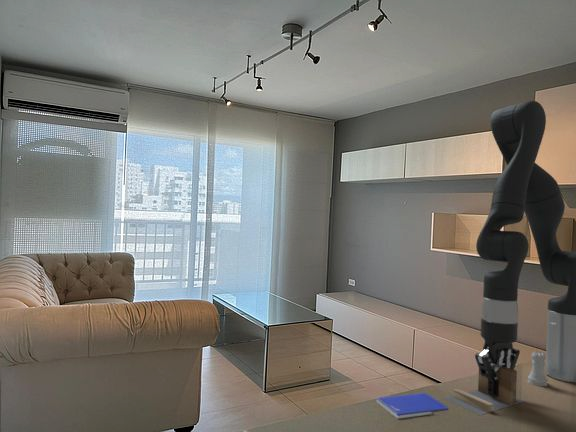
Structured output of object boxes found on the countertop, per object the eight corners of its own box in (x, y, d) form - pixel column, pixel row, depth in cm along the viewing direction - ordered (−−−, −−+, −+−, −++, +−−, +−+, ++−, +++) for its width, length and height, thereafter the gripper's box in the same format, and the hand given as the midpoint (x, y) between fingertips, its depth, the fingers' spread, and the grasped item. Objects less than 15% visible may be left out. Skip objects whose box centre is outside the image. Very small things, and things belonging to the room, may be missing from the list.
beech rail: (456, 395, 99) (457, 388, 99) (492, 411, 91) (493, 404, 91) (452, 396, 98) (452, 389, 98) (488, 412, 91) (488, 405, 91)
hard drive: (397, 413, 87) (448, 407, 92) (376, 397, 95) (424, 391, 99) (397, 421, 87) (448, 414, 92) (376, 404, 95) (423, 398, 99)
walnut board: (483, 389, 103) (484, 359, 103) (515, 402, 96) (516, 370, 96) (478, 390, 102) (479, 361, 102) (510, 404, 95) (511, 372, 95)
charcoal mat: (489, 388, 105) (489, 386, 105) (525, 403, 97) (525, 401, 97) (444, 400, 97) (444, 398, 97) (479, 417, 89) (479, 415, 89)
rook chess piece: (551, 386, 109) (552, 354, 109) (542, 389, 106) (543, 356, 106) (532, 380, 112) (533, 349, 112) (523, 383, 110) (524, 351, 110)
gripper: (502, 312, 106) (499, 383, 106) (465, 317, 99) (462, 393, 99) (533, 319, 100) (530, 395, 99) (495, 324, 93) (492, 406, 93)
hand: (496, 394), depth 99 cm, fingers closed on walnut board, 2 cm apart
